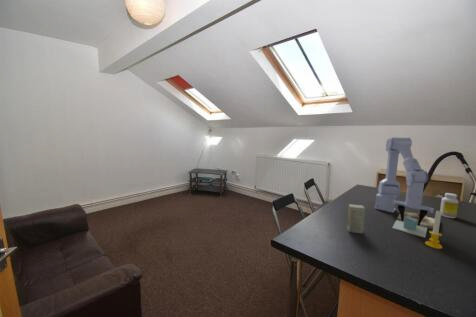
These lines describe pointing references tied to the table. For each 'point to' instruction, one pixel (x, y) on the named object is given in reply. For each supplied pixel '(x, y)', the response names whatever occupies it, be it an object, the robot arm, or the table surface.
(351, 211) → the skincare box
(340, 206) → the table surface
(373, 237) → the table surface
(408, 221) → the teal cube
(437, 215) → the candle
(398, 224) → the coaster
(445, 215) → the supplement bottle
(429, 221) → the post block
